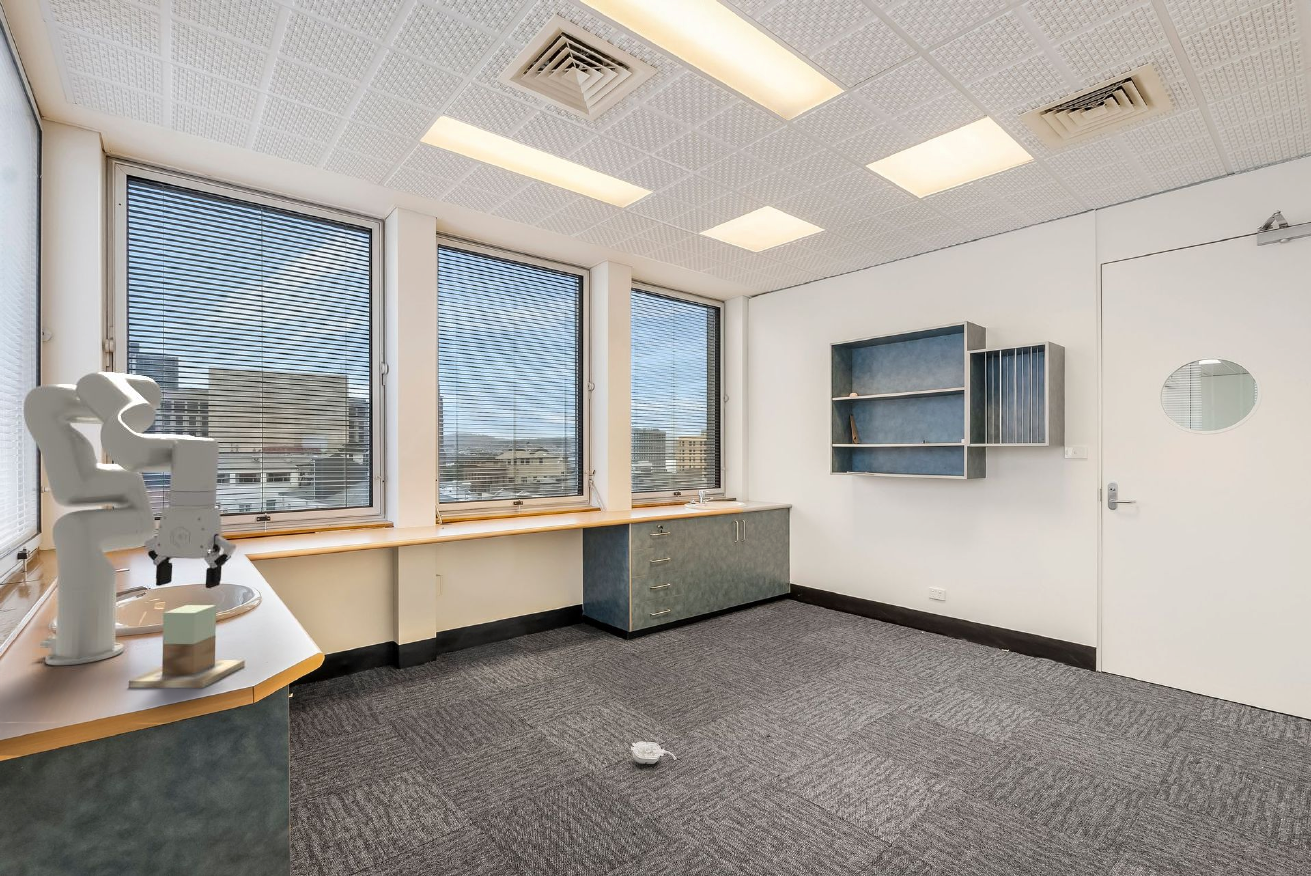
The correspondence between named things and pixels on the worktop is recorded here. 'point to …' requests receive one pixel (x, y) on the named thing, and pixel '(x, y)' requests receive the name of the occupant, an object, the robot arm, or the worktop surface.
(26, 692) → the worktop surface
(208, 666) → the walnut cube
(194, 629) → the sage cube
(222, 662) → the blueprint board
